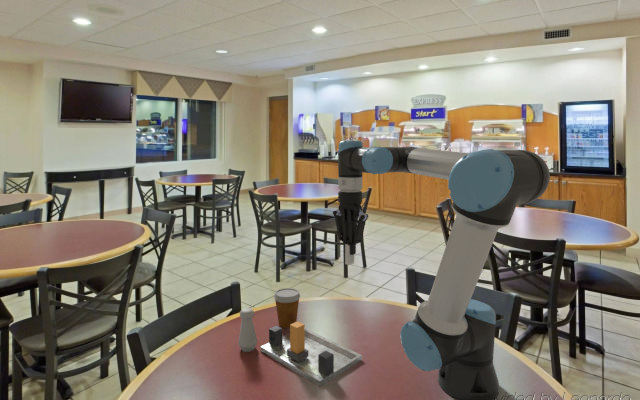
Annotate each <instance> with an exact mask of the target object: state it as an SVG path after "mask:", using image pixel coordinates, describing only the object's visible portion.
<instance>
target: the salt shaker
mask: <svg viewBox="0 0 640 400" xmlns="http://www.w3.org/2000/svg"><path fill="white" fill-rule="evenodd" d="M254 314H255V312H254V309H252V308H250V307H249V308H247V307H246V308H243V309H241V310H240V311H239V318H240V319H241V320H240V321H241V322H240V331H239V335H238V336H239V337H238V346H239V347H240V350H241V351H242V352H244V353H250V352H253V351H254V349H255V347H256V345H257V343H258V339H257V334H256V328H255V325H254V320H253V318H254Z"/></svg>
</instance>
